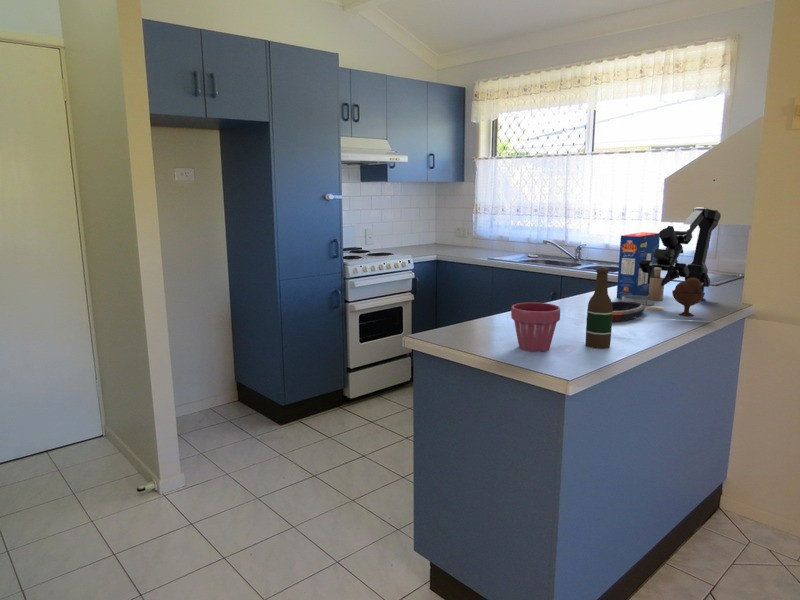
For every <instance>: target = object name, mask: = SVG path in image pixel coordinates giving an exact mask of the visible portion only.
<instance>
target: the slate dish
mask: <svg viewBox="0 0 800 600" xmlns="http://www.w3.org/2000/svg"><path fill="white" fill-rule="evenodd" d="M648 296H649V295H648ZM648 296H643V295H625V296H622V298H621V301H635V302H640V303H644V304H645V306H655V305H654V304H655V301H650V300H648Z"/></svg>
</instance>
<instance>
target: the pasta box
mask: <svg viewBox="0 0 800 600" xmlns="http://www.w3.org/2000/svg"><path fill="white" fill-rule="evenodd" d="M660 242H661V239H660V236H659V232H635V233H630V234H629V233H628V234H623V235H622V234H621V235H620V244H619V245H620V247H619V258H618V273H617V283H616V284H617V285H616V286H617V287H616V299H622V296H625V295H643V296H649V284H648V283H647V281H648V273H644V272H642V270H641V268H640V266H639V263H640V261H641V260H651V262H652V263H654V264H658V262H656V258H655V257H653V255H654V251H655V249H660Z"/></svg>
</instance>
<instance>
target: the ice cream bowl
mask: <svg viewBox="0 0 800 600" xmlns="http://www.w3.org/2000/svg"><path fill="white" fill-rule="evenodd" d="M671 291H672V296H673V299H674V300H675V301H676V302H677V303H678V304H679V305H682V306H683V308H684V309H683V311H682V312H680V313H679V314H678V316H681V317H689V318H691V317H694V316H695V315H694V314H692V313H691V312H690V308H691V307H692V306H694V305H697V304H698V303H700V302H702V301H703V300H702V299H703V298H705V294H706V293H705V291H704V292H702V290H701V282H700V281H699V280H698V279H697V278H688V279H687V280H686V281H685V280H684V281H680V282H679V283H677V284H676V285H675V288H674V289H673V290H671Z"/></svg>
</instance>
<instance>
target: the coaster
mask: <svg viewBox="0 0 800 600" xmlns="http://www.w3.org/2000/svg"><path fill="white" fill-rule="evenodd" d="M645 309H646V310H653V311H654V310H656V311H658V310H659V311H666V309H665V307H663V306H655V305H649V306H645Z"/></svg>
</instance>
